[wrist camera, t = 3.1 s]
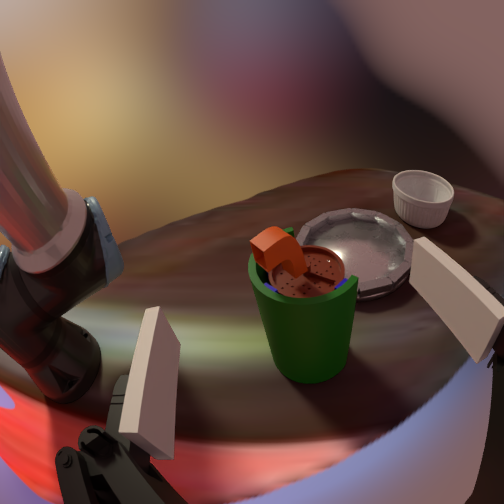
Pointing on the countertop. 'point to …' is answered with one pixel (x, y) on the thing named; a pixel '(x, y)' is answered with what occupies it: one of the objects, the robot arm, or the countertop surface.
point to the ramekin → (422, 198)
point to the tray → (364, 248)
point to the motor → (302, 304)
